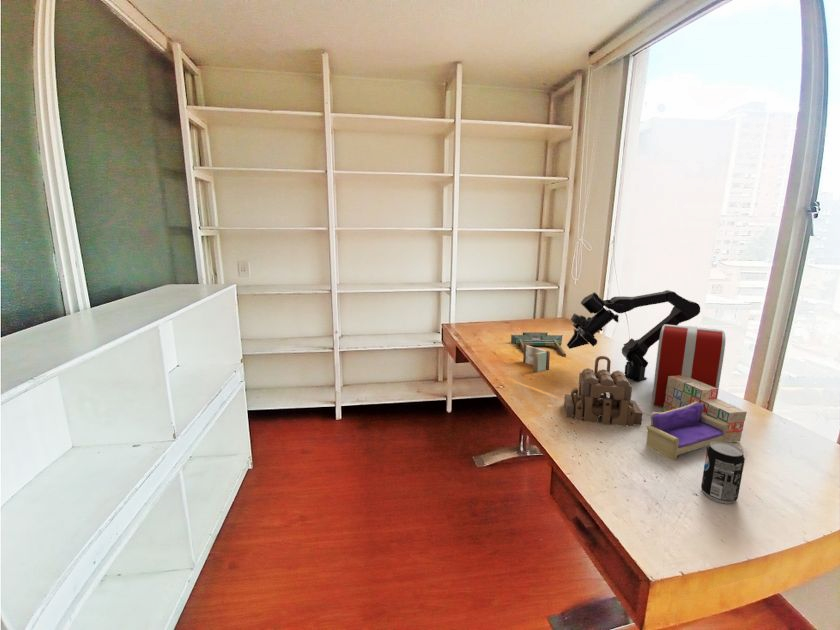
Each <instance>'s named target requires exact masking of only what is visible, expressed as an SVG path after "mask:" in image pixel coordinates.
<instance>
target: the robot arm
mask: <svg viewBox="0 0 840 630" xmlns="http://www.w3.org/2000/svg"><path fill="white" fill-rule="evenodd" d="M663 303H670V305H672V306H673V307H672V309H671V311H670V313H669V314H668V315H667V316H666V317H665V318H664V319H663V320H660V322H659V323H657V324H656V325H655V326H654V327H652V328H651V329H650V330H648V331H647V332H646V333H645V334H644V335H643V336H641V337H640V338H638V339H634V338H630V339H629V340H628V341H627V342H625V343H623V346H622V348H621V354H622V356H623V357H624V358H625V361H626V364H625V365H624V372H623V373H624V375H625V377H626V378H627V380H628V379H629V380H631V381H633V382H636V383H637V382H641V381H644V380H647V379H648V378H647V377H645V375H646V368H647V366H648V364H649V362H648V360H646V359H645V358H644V357H645V356H646V355H647V353H648V350H649V349H650V347H651V346H653V345H654V344H656V343H657V342H659V338H660V332H661V329H662V326H663V325H664V324H669V325H678V326H679V324H681V323H684V322H687V321H690V320H691V319H694V318H695V317H697V316H698V315H699V314H700V313H701V306H700V304H699V303H697V302H694V301H692V300H689V299H686V298H684V297H682V296H681V295H679V294H677V292H675V291H672V290H669V289H666V290H664V291H658V292H653V293H647V294H643V295H641V294H640V295H636V296H613V297H611V298H610V299H605V300H602V298H601V297H600V296H599V295H598V294H597V292H595V291H594V292H592V293H591V294H588V295H587V296H585V297H584V298H583V299H582V300H581V302H580V305H582V307H584V308H585V310H587V311H588V312H589V314H594V315H592V317H590V316H588V317H587V318H586V316H584V315H579V314H577V313H573V315H572V316H571V318H570V321H571V323H572V326H573V327H574V328H573V335H572V336H571V338H570V339H569V341H568V342H567V344H566V346H567V348H568V349H569V350H570V349H574V348H578V347H582V346H586V345H591V346H592V347H595V346H596V345H597V344H598V339H596V338H595V337H596V336H595V335H596V334H597V333H598V332H599V331H600V332H602V331H603V330H604V329H603V328H604V327H605V326H607V325H608V324H609V323H611V322H612V321H614V322H616V323H619V316H620V315H618V314H623V313H624V314H625V313H627V312H631V311H632V310H635V309H637V308H639V307H641V308H642V307H646V306H650V305H656V304H663ZM606 308H607V309H606ZM612 311H613V312H612ZM614 312H615V313H614ZM616 313H617V314H616Z"/></svg>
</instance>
